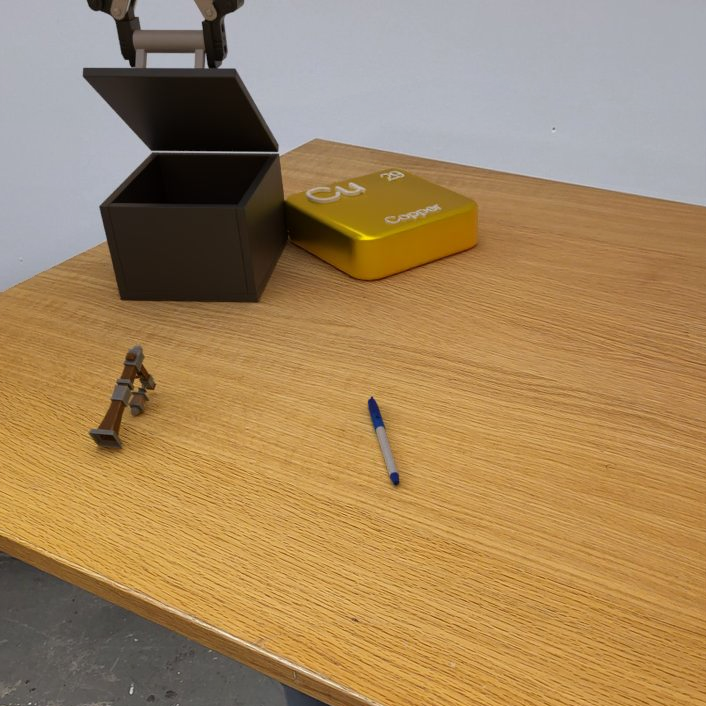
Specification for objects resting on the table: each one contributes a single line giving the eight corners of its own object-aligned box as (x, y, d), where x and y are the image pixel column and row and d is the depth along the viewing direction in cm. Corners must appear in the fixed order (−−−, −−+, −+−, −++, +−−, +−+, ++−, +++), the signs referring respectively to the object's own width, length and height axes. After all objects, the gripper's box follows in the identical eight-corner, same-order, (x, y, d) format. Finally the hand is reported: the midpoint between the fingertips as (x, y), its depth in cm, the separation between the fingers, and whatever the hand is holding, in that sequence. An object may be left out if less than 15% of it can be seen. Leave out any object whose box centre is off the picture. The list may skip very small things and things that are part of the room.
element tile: (364, 285, 87) (361, 236, 84) (281, 237, 96) (275, 192, 93) (486, 244, 94) (487, 198, 91) (398, 203, 104) (396, 160, 101)
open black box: (257, 302, 84) (244, 208, 79) (120, 300, 85) (98, 206, 79) (289, 238, 96) (279, 153, 91) (168, 237, 96) (152, 152, 91)
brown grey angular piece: (167, 376, 72) (146, 340, 68) (134, 466, 68) (111, 433, 64) (144, 374, 72) (123, 338, 68) (111, 464, 68) (86, 431, 64)
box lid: (235, 77, 75) (238, 15, 76) (81, 76, 76) (85, 15, 76) (278, 152, 90) (280, 100, 91) (150, 151, 91) (153, 99, 91)
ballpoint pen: (364, 405, 70) (363, 394, 69) (375, 404, 70) (375, 392, 69) (392, 488, 61) (392, 476, 61) (405, 486, 62) (405, 474, 61)
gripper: (246, -170, 73) (269, 58, 83) (67, -170, 74) (110, 56, 83) (221, -169, 67) (249, 77, 76) (25, -169, 68) (77, 75, 77)
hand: (176, 65), depth 80 cm, fingers closed on box lid, 6 cm apart
